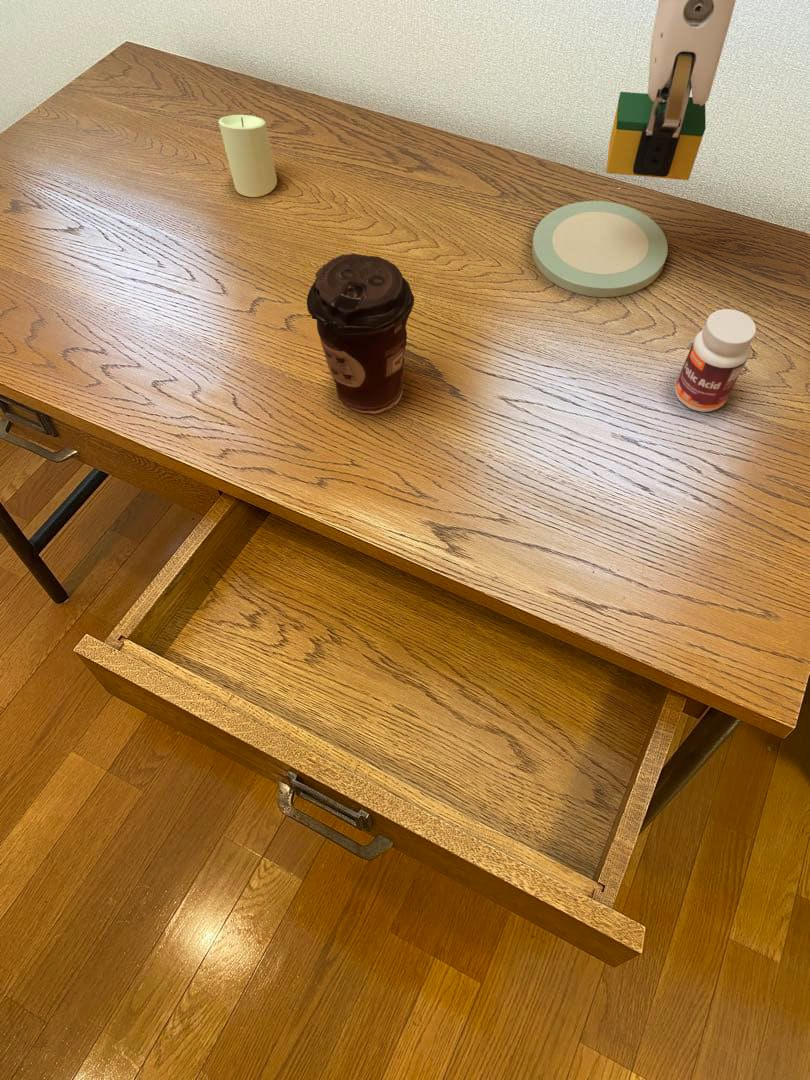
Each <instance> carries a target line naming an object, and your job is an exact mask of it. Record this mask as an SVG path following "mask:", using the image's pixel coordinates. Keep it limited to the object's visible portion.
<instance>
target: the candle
mask: <svg viewBox="0 0 810 1080" xmlns="http://www.w3.org/2000/svg"><path fill="white" fill-rule="evenodd" d="M217 121H218V126H219V130H220V133H221V138H222V142H223V147H224V150H225V154H226V158H227V161H228V165H229V171H230V174H231V177H232V178H231V179H232V182H233V185H234V189H235V191H236V192H237V193H238V194H240V195H241V196H245V197H247V198H248V197H249V198H259V197H263V196H265V195H268V194H269V193H271V192H272V191H273V190H274V189H276V186H277V185H278V179H277V174H276V168H275V163H274V159H273V154H272V148H271V143H270V137H269V133H268V128H267V123H266V120H264V119H263V118H261V117H258V116H255V115H250V114H232V115H231V114H230V115H226V116H223V117H220V118H219V119H218V120H217Z"/></svg>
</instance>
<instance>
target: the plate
mask: <svg viewBox="0 0 810 1080" xmlns="http://www.w3.org/2000/svg"><path fill="white" fill-rule="evenodd" d="M531 242H532V243H531V255H532V259H533V262H534V264H535V266H536V268H537V269H538V270H539V272H540V273H541V274H542V275H543V276H544V277H545V278H546V279H547V280H549V281H550V282H551V283H553V284H554V285H556V286H557V287H559V288H562V289H564V290H566V291H567V292H568V291H569V292H571V293H574V294H577V295H580V296H581V295H582V296H586V297H594V298H615V297H622V296H626V295H627V296H628V295H631V294H633V293H636V292H638V291H641V290H643V289H645V288H646V287H648V286H649V285H651V284H652V283H653V282H654V281H656V279H657V278H658V277H659V276H660V275H661V274H662V271H663V269H664V267H665V263H666V260H667V257H668V252H669V246H668V241H667V237H666V235H665V233H664V231H663V230H662V228H661V227H660V226H659V225H658V224H657V222H656V221H654V220H653V219H652V218H651V217H649V216H648V215H646V214H645V213H644V212H641V211H639V210H638V209H636V208H633V207H631V206H628V205H624V204H622V203H617V202H612V201H606V200H605V201H604V200H585V201H578V202H573V203H569V204H565V205H563V206H561V207H558V208H556V209H554V210H552V211H550V212H549V213H548V214H547V215H545V216H544V217H543V218H542V219H541V220H540V222H539V223H538V224H537V226H536V227H535V230H534V232H533V235H532V241H531Z"/></svg>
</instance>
